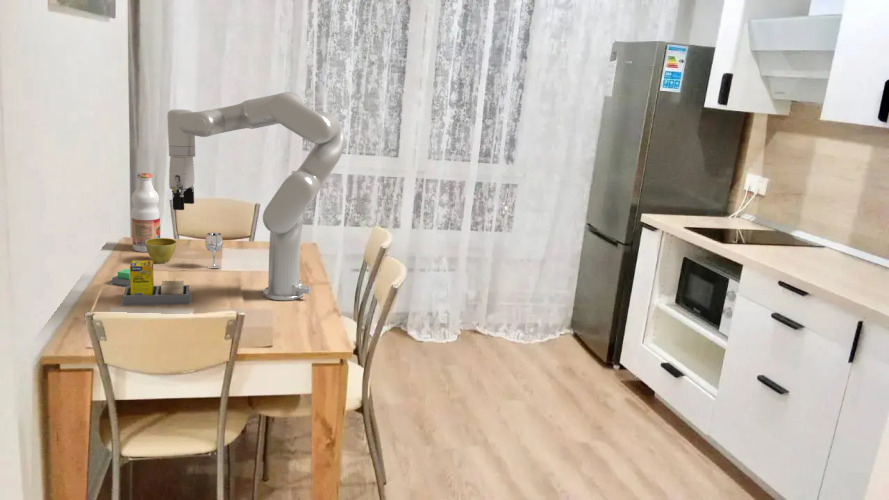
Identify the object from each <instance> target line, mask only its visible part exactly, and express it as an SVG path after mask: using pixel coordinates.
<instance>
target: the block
mask: <svg viewBox="0 0 889 500" xmlns="http://www.w3.org/2000/svg"><path fill="white" fill-rule="evenodd" d="M184 283H185V282H184V280H161V285H160V286H161V295H174V294H184V285H185V284H184Z"/></svg>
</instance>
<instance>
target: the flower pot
mask: <svg viewBox="0 0 889 500" xmlns="http://www.w3.org/2000/svg"><path fill="white" fill-rule="evenodd" d="M145 244H146V248H147V251H148V252H147V254H148V255H149V257H150V259H151V261H153V263H155V264H166V263H165V262H167V263H169V262H170V261H171V260H172V258H173V256H174V253H175V251H176V246H177V240H176V239H173V238H169V237H167V238H166V237H165V238H164V237H160V238H154V239H149V240H147V241H145Z"/></svg>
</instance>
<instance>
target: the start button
mask: <svg viewBox="0 0 889 500" xmlns="http://www.w3.org/2000/svg"><path fill="white" fill-rule="evenodd" d="M117 276H118V278H124V279H130V268H124V269H121V270H119V271H117Z"/></svg>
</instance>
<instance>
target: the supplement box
mask: <svg viewBox="0 0 889 500" xmlns="http://www.w3.org/2000/svg"><path fill="white" fill-rule="evenodd" d="M129 269H130V287H131V295H154V286H155V285H154V284H155V283H154V262H153V260H131V264H130V265H129Z"/></svg>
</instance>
